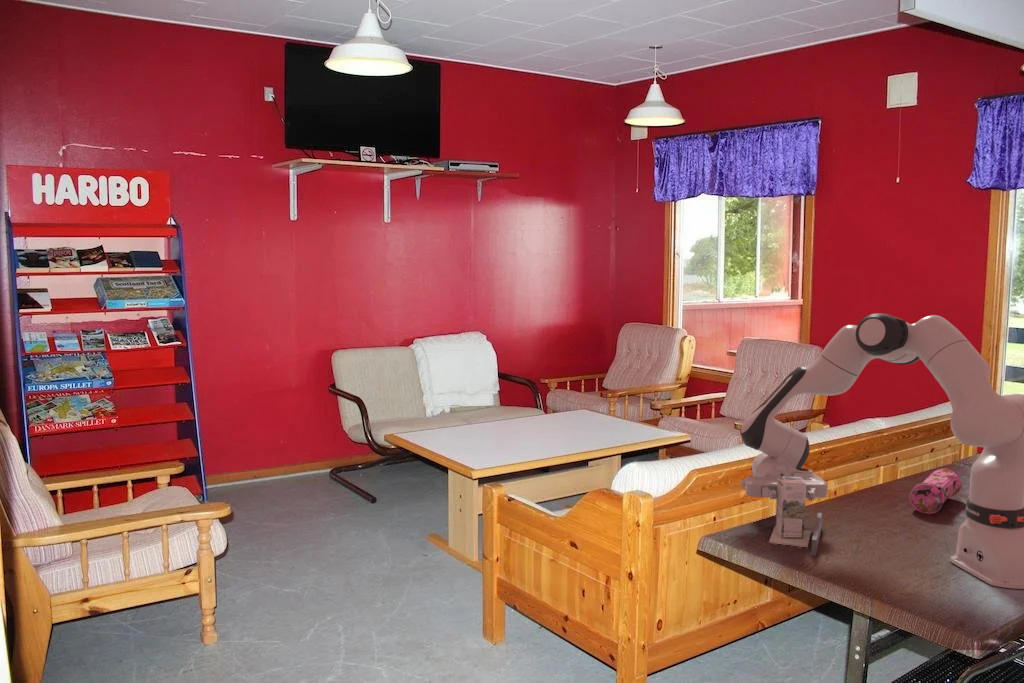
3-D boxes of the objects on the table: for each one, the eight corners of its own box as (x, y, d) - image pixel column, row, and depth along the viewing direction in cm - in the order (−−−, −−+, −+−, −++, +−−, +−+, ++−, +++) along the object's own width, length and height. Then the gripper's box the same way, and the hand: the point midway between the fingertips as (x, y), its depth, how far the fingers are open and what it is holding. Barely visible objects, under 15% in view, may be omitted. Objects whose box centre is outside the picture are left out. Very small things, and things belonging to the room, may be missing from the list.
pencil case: (943, 518, 232) (945, 486, 231) (906, 511, 238) (908, 480, 237) (962, 499, 249) (964, 469, 248) (927, 494, 255) (929, 464, 254)
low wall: (821, 528, 224) (822, 513, 224) (815, 556, 204) (816, 540, 204) (817, 527, 225) (818, 512, 224) (811, 555, 205) (811, 539, 204)
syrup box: (798, 531, 220) (800, 475, 218) (804, 539, 214) (806, 482, 212) (775, 531, 220) (777, 475, 219) (780, 539, 214) (782, 482, 213)
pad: (811, 533, 221) (811, 530, 221) (807, 548, 210) (807, 545, 210) (774, 528, 224) (774, 526, 224) (769, 543, 213) (769, 541, 213)
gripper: (739, 468, 229) (750, 483, 215) (817, 469, 228) (834, 484, 214) (738, 492, 229) (749, 508, 216) (817, 493, 228) (833, 509, 215)
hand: (792, 496), depth 215 cm, fingers open, 8 cm apart
